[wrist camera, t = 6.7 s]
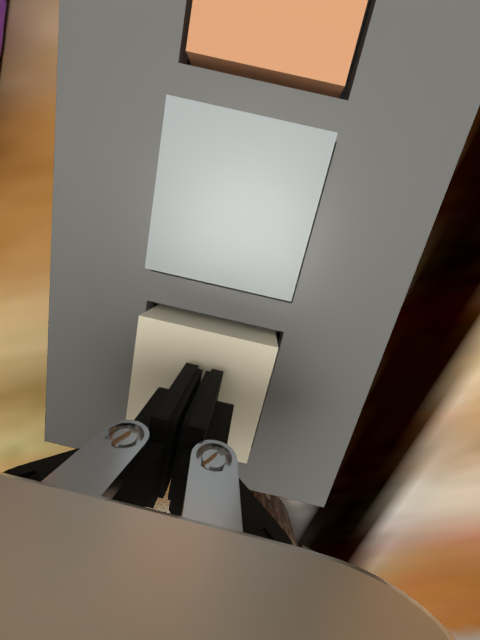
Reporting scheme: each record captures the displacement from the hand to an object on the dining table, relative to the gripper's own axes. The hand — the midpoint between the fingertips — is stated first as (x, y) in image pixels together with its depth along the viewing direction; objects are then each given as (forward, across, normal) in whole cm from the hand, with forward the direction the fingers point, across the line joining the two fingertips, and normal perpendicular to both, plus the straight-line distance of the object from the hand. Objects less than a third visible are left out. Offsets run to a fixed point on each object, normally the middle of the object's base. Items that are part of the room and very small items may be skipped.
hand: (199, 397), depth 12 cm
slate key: (+4, 0, -8) cm, 9 cm away
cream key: (+4, 0, 0) cm, 4 cm away
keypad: (+7, 0, -8) cm, 11 cm away
